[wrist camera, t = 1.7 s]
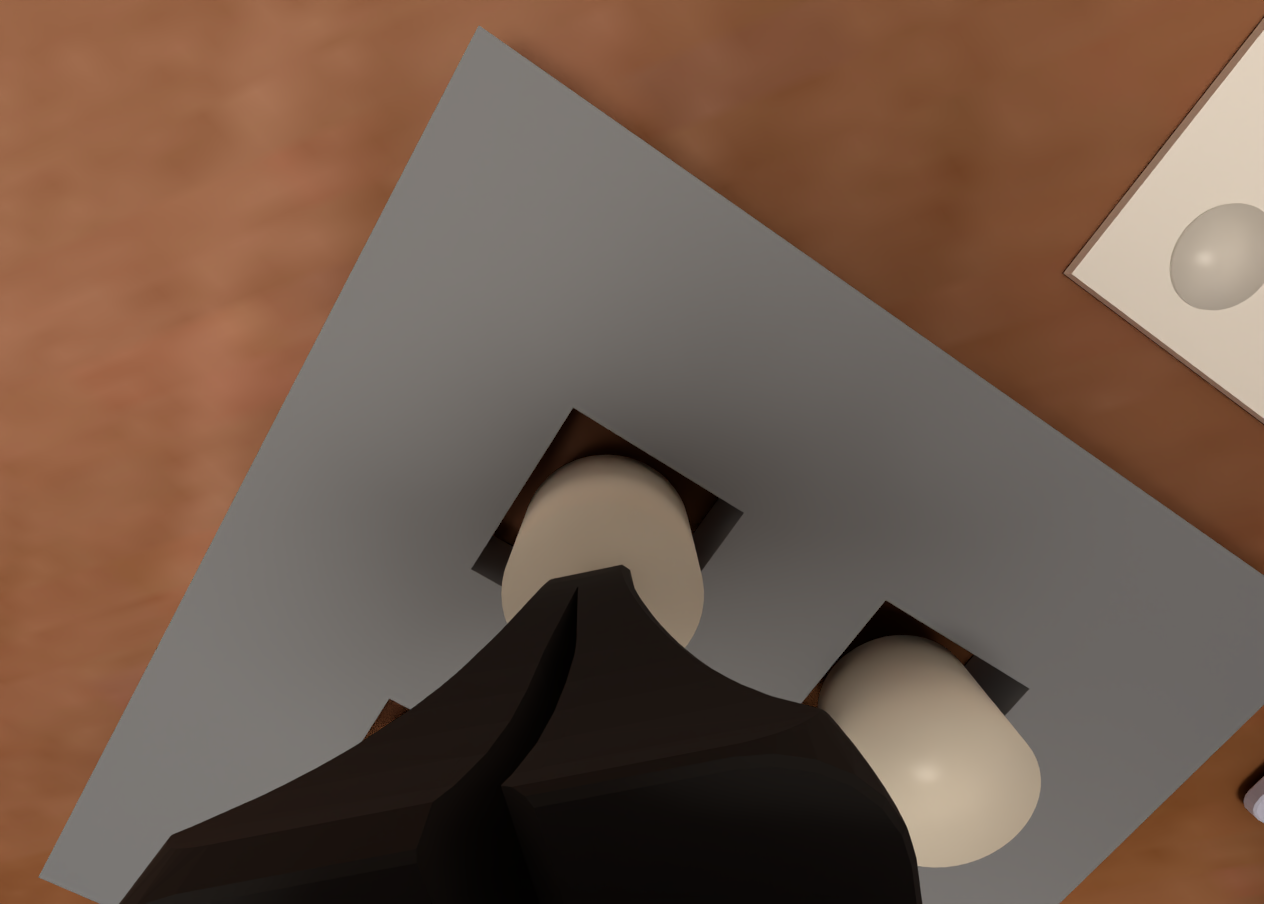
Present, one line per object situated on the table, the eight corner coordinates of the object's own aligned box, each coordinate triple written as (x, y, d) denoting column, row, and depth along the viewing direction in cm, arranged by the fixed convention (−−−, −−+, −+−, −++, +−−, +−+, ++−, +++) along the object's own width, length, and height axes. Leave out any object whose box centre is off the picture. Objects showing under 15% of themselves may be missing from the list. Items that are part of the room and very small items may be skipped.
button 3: (721, 510, 15) (743, 569, 12) (631, 635, 16) (633, 717, 13) (579, 423, 15) (568, 464, 12) (493, 557, 15) (464, 625, 13)
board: (1262, 587, 18) (1340, 629, 16) (753, 1108, 23) (766, 1188, 21) (498, 56, 14) (478, 25, 12) (97, 814, 19) (38, 877, 17)
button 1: (1002, 682, 16) (1079, 770, 14) (904, 789, 17) (959, 893, 14) (881, 608, 16) (936, 685, 13) (787, 722, 17) (820, 818, 14)
